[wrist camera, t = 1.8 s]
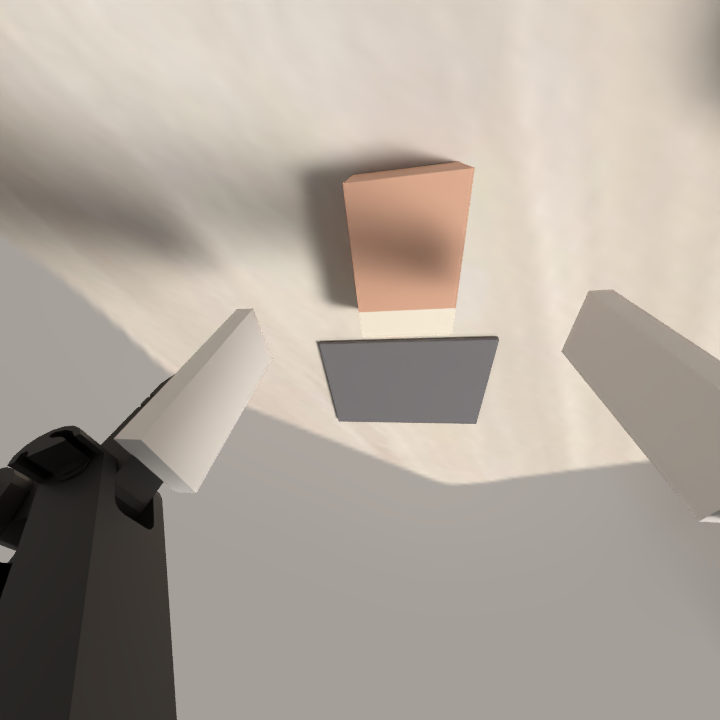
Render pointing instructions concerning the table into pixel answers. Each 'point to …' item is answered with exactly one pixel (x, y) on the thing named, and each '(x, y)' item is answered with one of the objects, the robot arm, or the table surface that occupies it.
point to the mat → (409, 379)
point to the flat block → (408, 247)
